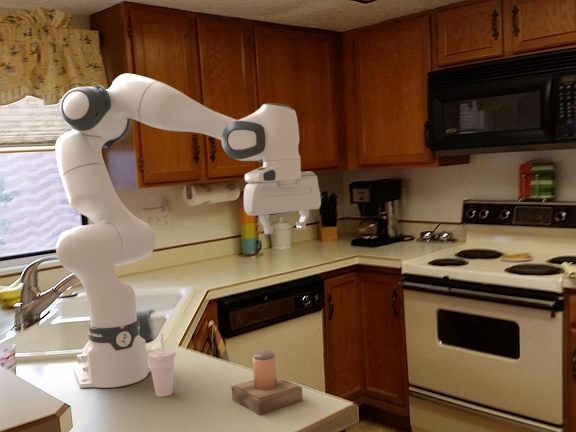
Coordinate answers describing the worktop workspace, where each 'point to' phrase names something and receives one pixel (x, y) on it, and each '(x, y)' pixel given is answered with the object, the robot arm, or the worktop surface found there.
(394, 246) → the worktop surface
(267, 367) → the jar
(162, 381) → the smoothie
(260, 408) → the plinth
